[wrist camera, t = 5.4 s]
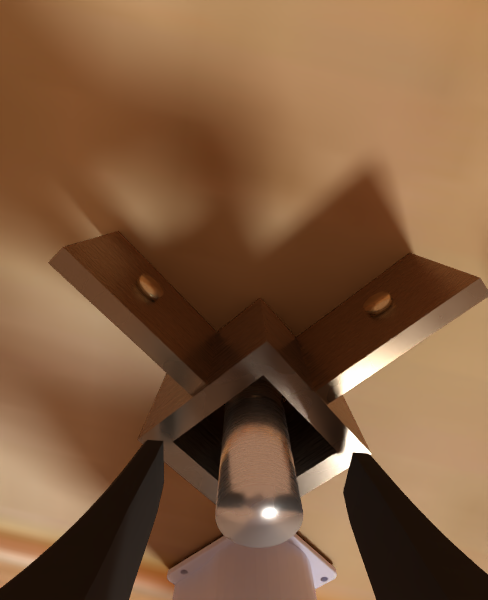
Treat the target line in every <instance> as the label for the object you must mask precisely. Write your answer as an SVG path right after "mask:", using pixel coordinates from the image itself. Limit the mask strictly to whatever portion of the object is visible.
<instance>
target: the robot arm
mask: <svg viewBox="0 0 488 600" xmlns="http://www.w3.org/2000/svg"><path fill="white" fill-rule="evenodd" d="M163 484H164V443H163V441H158V440H146V441H145V442H144V443H143V445H142V446H141V448H140V449H139V450H138V452H137V453H136V454H135V456H134V457H133V458H132V460H131V461H130V462H129V463H128V465H127V466H126V467H125V468H124V470H123V471H122V472H121V473H120V475H119V476H118V477H117V478H116V479H115V480H114V482H113V483H112V484H111V485H110V486H109V488H108V489H107V490H106V491H105V492H104V493H103V494H102V495H101V497H100V498H99V499H98V500H97V501H96V502H95V503H94V504H93V505H92V506H91V507H90V509H89V510H88V511H87V512H86V513H85V514H84V515H83V516H82V517H81V518H80V519H79V520H78V521H77V522H76V523H75V524H74V525H73V526H72V527H71V528H70V529H69V530H68V531H67V532H66V533H65V534H64V535H62V536H61V537H60V538H59V539H58V540H57V541H56V542H55V543H54V544H53V545H52V546H50V547H49V548H48V549H47V550H46V551H45V552H44V553H43V554H41V555H40V556H39V557H38V558H37V559H36V560H35V561H34V562H32V563H31V564H30V565H29V566H28V567H26V568H25V569H24V570H23V571H22V572H20V573H19V574H18V575H17V576H15V577H14V578H13V579H12V580H10V581H9V582H8V583H7V584H5V585H4V586H3V587H1V588H0V600H129V598H130V595H131V591H132V588H133V584H134V581H135V578H136V575H137V572H138V569H139V566H140V563H141V560H142V557H143V554H144V551H145V548H146V545H147V542H148V539H149V536H150V533H151V530H152V527H153V524H154V521H155V518H156V514H157V511H158V507H159V502H160V498H161V493H162V489H163ZM343 494H344V498H345V503H346V508H347V512H348V516H349V520H350V524H351V527H352V530H353V533H354V536H355V539H356V542H357V545H358V548H359V551H360V554H361V557H362V559H363V562H364V565H365V568H366V571H367V574H368V577H369V580H370V583H371V585H372V588H373V591H374V594H375V597H376V600H488V574H487V573H485V572H484V571H483V570H482V569H481V568H480V567H478V566H477V565H476V564H475V563H474V562H473V561H472V560H471V559H469V558H468V557H467V556H466V555H465V554H464V553H463V552H462V551H461V550H459V549H458V548H457V547H456V546H455V545H454V544H453V543H452V542H451V541H450V540H449V539H448V538H447V537H446V536H445V535H443V534H442V533H441V532H440V531H439V530H438V529H437V528H436V527H435V526H434V525H433V524H432V523H431V522H430V521H429V520H428V519H427V518H426V516H425V515H424V514H423V513H422V512H421V511H420V510H419V509H418V508H417V507H416V506H415V505H414V504H413V503H412V502H411V501H410V499H409V498H408V497H407V496H406V495H405V494H404V493H403V492H402V491H401V490H400V488H399V487H398V486H397V485H396V484H395V483H394V482H393V481H392V479H391V478H390V477H389V476H388V475H387V474H386V473H385V471H384V470H383V469H382V468H381V467H380V466H379V465H378V463H377V462H376V461H375V460H374V459H373V458H372V457H371V455H370V454H369V453H357V452H353V453H352V457H351V462H350V466H349V470H348V474H347V479H346V483H345V487H344V491H343ZM336 576H337V573H336V569H335V568H334V567H333V566H332V565H331V564H330V563H329V562H328V561H327V560H325V559H324V558H323V557H322V556H321V555H320V554H319V553H317V552H316V551H315V550H314V549H313V548H312V547H311V546H309V545H308V544H307V543H306V542H305V541H304V540H303V539H301V538H300V537H299V536H298V535H297V534H296V533H295V535H293V536H292V537H291V538H290V539H288V540H287V541H285V542H283V543H281V544H278V545H275V546H271V547H265V548H253V547H246V546H242V545H239V544H237V543H234V542H233V541H231V540H229V539H228V538H226V537H225V536H223V537H221V538H219V539H218V540H216V541H214V542H213V543H211V544H210V545H208V546H206V547H205V548H203V549H201V550H200V551H198V552H197V553H195V554H193V555H192V556H190V557H189V558H187V559H185V560H184V561H182V562H180V563H179V564H177V565H176V566H174V567H172V568H171V569H169V570H168V574H167V579H168V580H169V581H170V582H172V583H173V584H174V585H175V588H174V594H173V600H317V597H316V591H315V589H316V588H318V587H320V586H322V585H324V584H326V583H328V582H330V581H332V580H333V579H335V578H336Z"/></svg>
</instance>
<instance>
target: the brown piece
mask: <svg viewBox="0 0 488 600" xmlns="http://www.w3.org/2000/svg"><path fill="white" fill-rule="evenodd" d="M48 263H49V264H50V265H51V266H52V267H53V268H54V269H55V270H56V271H58V272H59V273H60V274H61V275H62V276H63V277H64V278H65V279H66V280H67V281H68V282H69V283H70V284H72V285H73V286H74V287H75V288H76V289H77V290H78V291H79V292H80V293H81V294H82V295H83V296H84V297H86V298H87V299H88V300H89V301H90V302H91V303H92V304H93V305H94V306H95V307H96V308H97V309H99V310H100V311H101V312H102V313H103V314H104V315H105V316H106V317H107V318H108V319H109V320H110V321H111V322H113V323H114V324H115V325H116V326H117V327H118V328H119V329H120V330H121V331H122V332H123V333H124V334H125V335H127V336H128V337H129V338H130V339H131V340H132V341H133V342H134V343H135V344H136V345H137V346H138V347H139V348H141V349H142V350H143V351H144V352H145V353H146V354H147V355H148V356H149V357H150V358H151V359H152V360H153V361H155V362H156V363H157V364H158V365H159V366H160V367H161V368H162V369H163V370H164V371H165V372H166V376H165V378H164V380H163V382H162V385H161V387H160V389H159V392H158V394H157V396H156V399H155V401H154V403H153V405H152V408H151V410H150V412H149V415H148V417H147V419H146V422H145V424H144V426H143V428H142V431H141V433H140V435H139V438H138V441H140V442H141V443H142V444H143V443H144V442H145V441H146V440H158V441H163V443H164V462H165V463H166V464H167V465H169V466H170V467H171V468H172V469H173V470H175V471H176V472H177V473H178V474H179V475H181V476H182V477H183V478H184V479H185V480H187V481H188V482H189V483H190V484H192V485H193V486H194V487H195V488H196V489H198V490H199V491H200V492H201V493H202V494H204V495H205V496H206V497H207V498H208V499H210V500H211V501H212V502H213V503H214V504H216V501H217V491H218V480H219V469H220V458H221V447H222V436H223V425H224V414H225V406H224V405H223V404H225V403H226V402H227V401H229V400H230V399H231V398H233V397H234V396H235V395H237V394H238V393H240V392H241V391H242V390H244V389H245V388H246V387H248V386H249V385H250V384H252V383H253V382H254V381H256V380H257V379H259V378H260V377H261V376H263V375H264V376H265V377H266V378H267V379H268V380H269V381H270V383H271V384H272V385H273V386H274V387H275V388H276V389H277V390H278V391H279V392H280V393H281V394H282V395H283V396H284V397H285V398H286V399H287V401H285V402H284V403H283V406H284V412H285V417H286V423H287V428H288V434H289V439H290V444H291V450H292V455H293V461H294V466H295V472H296V477H297V482H298V488H299V493H300V497H302V496H303V495H305V494H306V493H308V492H310V491H311V490H313V489H315V488H316V487H318V486H320V485H321V484H323V483H325V482H326V481H328V480H329V479H331V478H333V477H334V476H336V475H338V474H339V473H341V472H343V471H344V470H346V469H347V468H349V466H350V462H351V457H352V453H353V452H357V453H369V454H371V452H370V450H369V448H368V446H367V444H366V442H365V440H364V438H363V436H362V434H361V431H360V429H359V427H358V425H357V423H356V421H355V419H354V417H353V415H352V413H351V411H350V409H349V407H348V405H347V403H346V401H345V399H344V397H343V394H344V393H345V392H347V391H348V390H350V389H351V388H353V387H354V386H356V385H357V384H359V383H360V382H362V381H363V380H365V379H366V378H368V377H369V376H371V375H372V374H374V373H375V372H377V371H378V370H380V369H381V368H383V367H384V366H386V365H387V364H389V363H390V362H392V361H393V360H395V359H396V358H398V357H399V356H400V355H402V354H403V353H405V352H406V351H408V350H409V349H411V348H412V347H414V346H415V345H417V344H418V343H420V342H421V341H423V340H424V339H426V338H427V337H429V336H430V335H432V334H433V333H435V332H436V331H438V330H439V329H441V328H442V327H444V326H445V325H447V324H448V323H450V322H451V321H453V320H454V319H456V318H457V317H458V316H460V315H461V314H463V313H464V312H466V311H467V310H469V309H470V308H472V307H473V306H475V305H476V304H478V303H479V302H481V301H482V300H484V299H485V298H487V297H488V289H487V288H486V286H485V285H484V283H483V282H482V280H481V278H479V277H476V276H474V275H471V274H468V273H465V272H462V271H459V270H457V269H454V268H451V267H448V266H445V265H443V264H440V263H437V262H434V261H431V260H429V259H426V258H423V257H420V256H417V255H414V254H412V253H409V254H408V255H406V256H405V257H404V258H402V259H401V260H400V261H398V262H397V263H396V264H394V265H393V266H392V267H390V268H389V269H388V270H386V271H385V272H384V273H382V274H381V275H380V276H378V277H377V278H376V279H374V280H373V281H372V282H370V283H369V284H368V285H366V286H365V287H364V288H362V289H361V290H360V291H358V292H357V293H355V294H354V295H353V296H351V297H350V298H349V299H347V300H346V301H345V302H343V303H342V304H341V305H339V306H338V307H337V308H335V309H334V310H333V311H331V312H330V313H329V314H327V315H326V316H325V317H323V318H322V319H321V320H319V321H318V322H317V323H315V324H314V325H313V326H311V327H310V328H309V329H307V330H306V331H305V332H303V333H302V334H301V335H299V336H298V337H297V338H296V337H295V336H294V335H293V334H292V333H291V331H290V330H289V329H288V328H287V327H286V326H285V325H284V324H283V322H282V321H281V320H280V319H279V318H278V317H277V316H276V315H275V313H274V312H273V311H272V310H271V309H270V308H269V307H268V306H267V304H266V303H265V302H264V301H263V300H262V299H261V298H259V299H258V300H257V301H255V302H254V303H253V304H252V305H250V306H249V307H248V308H247V309H245V310H244V311H243V312H242V313H240V314H239V315H238V316H237V317H235V318H234V319H233V320H232V321H231V322H229V323H228V324H227V325H226V326H224V327H223V328H222V329H221V330H219V331H218V332H216V331H215V330H214V329H213V328H212V327H211V326H210V325H209V324H208V323H207V322H206V321H205V320H204V319H203V318H202V317H201V315H200V314H199V313H198V312H197V311H196V310H195V309H194V308H193V307H192V306H191V305H190V304H189V303H188V302H187V301H186V300H185V299H184V298H183V297H182V296H181V295H180V294H179V293H178V292H177V291H176V290H175V289H174V288H173V287H172V286H171V285H170V284H169V283H168V282H167V281H166V280H165V278H164V277H163V276H162V275H161V274H160V273H159V272H158V271H157V270H156V269H155V268H154V267H153V266H152V265H151V264H150V263H149V262H148V261H147V260H146V259H145V258H144V257H143V256H142V255H141V254H140V253H139V252H138V251H137V250H136V249H135V248H134V247H133V246H132V245H131V244H130V243H129V241H128V240H127V239H126V238H125V237H124V236H123V235H122V234H121V233H120V232H119V231H117V232H113V233H110V234H106V235H103V236H99V237H96V238H93V239H89V240H86V241H82V242H79V243H76V244H72V245H69V246H65V247H63V248H62V249H61V250H60V251H59V252H58V253H57V254H56V255H55V256H54V257H53V258H52V259H51V260H50V261H49V262H48Z"/></svg>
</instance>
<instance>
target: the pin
mask: <svg viewBox="0 0 488 600" xmlns="http://www.w3.org/2000/svg"><path fill="white" fill-rule="evenodd" d="M215 520H216V524H217V526H218V528H219V530H220V531H221V533H222V534H223V535H224V536H225V537H226V538H228V539H229V540H231V541H233V542H234V543H237V544H239V545H242V546H246V547H253V548H265V547H271V546H275V545H278V544H281V543H283V542H285V541H287V540H288V539H290V538H291V537H292V536H293V535H295V533H296V532H297V531H298V530H299V528H300V526H301V524H302V521H303V510H302V504H301V499H300V493H299V488H298V482H297V477H296V472H295V466H294V461H293V455H292V450H291V444H290V439H289V434H288V428H287V423H286V417H285V412H284V406H283V401H282V396H281V393H280V392H279V391H278V390H277V389H276V388H275V387H274V386H273V385H272V384H271V383H270V381H269V380H268V379H267V378H266V377H265V376H264V375H263V376H261V377H260V378H259V379H257V380H256V381H254V382H253V383H252V384H250V385H249V386H248V387H246V388H245V389H244V390H242V391H241V392H240V393H238V394H237V395H235V396H234V397H233V398H231V399H230V400H229V401H227V402H226V403H225V414H224V425H223V436H222V447H221V458H220V469H219V480H218V491H217V501H216V512H215Z"/></svg>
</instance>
